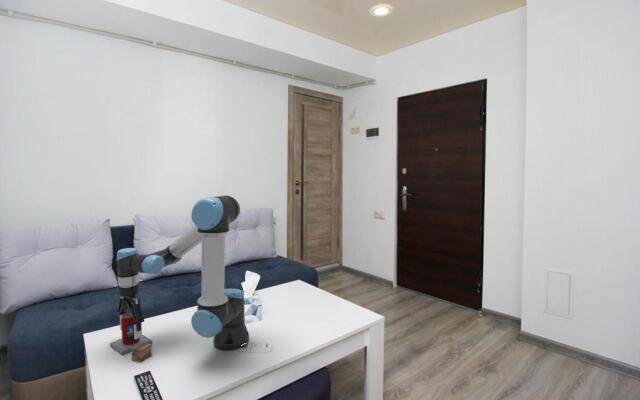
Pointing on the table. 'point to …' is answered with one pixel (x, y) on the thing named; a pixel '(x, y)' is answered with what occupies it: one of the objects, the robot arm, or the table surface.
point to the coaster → (128, 345)
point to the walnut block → (141, 352)
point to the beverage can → (128, 329)
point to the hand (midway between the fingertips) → (131, 333)
